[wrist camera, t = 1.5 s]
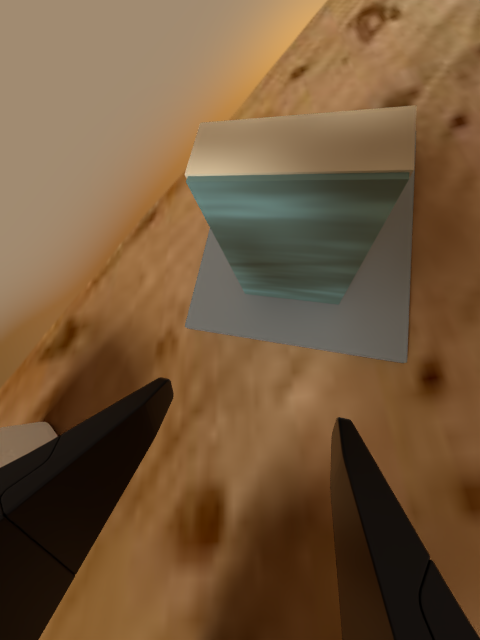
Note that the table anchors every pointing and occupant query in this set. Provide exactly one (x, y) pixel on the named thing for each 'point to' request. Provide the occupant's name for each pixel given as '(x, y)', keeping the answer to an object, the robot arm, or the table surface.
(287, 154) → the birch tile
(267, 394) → the table surface
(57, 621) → the table surface
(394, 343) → the rubber mat
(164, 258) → the table surface
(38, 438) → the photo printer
